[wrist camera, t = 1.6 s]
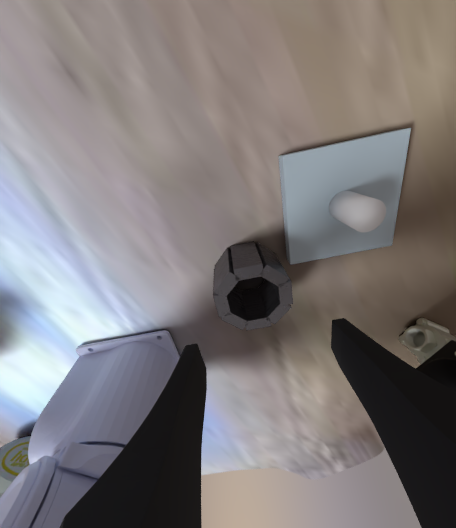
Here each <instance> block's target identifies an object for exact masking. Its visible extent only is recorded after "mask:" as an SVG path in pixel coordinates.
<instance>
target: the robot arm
mask: <svg viewBox="0 0 456 528" xmlns="http://www.w3.org/2000/svg"><path fill="white" fill-rule="evenodd" d="M159 336H161V337H159ZM331 348H332V351H333V353H334V355H335V357H336V360H337V362H338V364H339V366H340V368H341V370H342V371H343V373H344V375H345V376H346V378H347V380H348V381H349V383H350V385H351V386H352V388H353V390H354V391H355V393H356V395H357V396H358V398H359V400H360V401H361V403H362V405H363V406H364V408H365V410H366V411H367V413H368V415H369V417H370V418H371V420H372V422H373V424H374V426H375V428H376V430H377V432H378V434H379V436H380V438H381V440H382V442H383V444H384V446H385V448H386V450H387V452H388V454H389V456H390V458H391V461H392V463H393V465H394V467H395V469H396V471H397V473H398V475H399V478H400V480H401V482H402V484H403V486H404V489H405V491H406V493H407V495H408V497H409V500H410V502H411V504H412V506H413V509H414V511H415V513H416V516H417V518H418V520H419V522H420V525H421V527H422V528H456V391H454V390H452V389H450V388H448V387H446V386H444V385H443V384H441V383H439V382H437V381H436V380H434V379H432V378H430V377H429V376H427V375H425V374H423V373H422V372H420V371H418V370H417V369H415V368H414V367H412V366H410V365H409V364H407V363H406V362H404V361H403V360H401V359H400V358H398V357H397V356H395V355H394V354H392V353H391V352H389V351H388V350H386V349H385V348H384V347H382V346H381V345H379V344H378V343H377V342H375V341H374V340H372V339H371V338H370V337H368V336H367V335H366V334H364V333H363V332H362V331H360V330H359V329H358V328H356V327H355V326H354V325H353V324H351V323H350V322H349V321H347V320H346V319H344V318H342V319H336V320H332V339H331ZM76 352H77V354H78V355H79V356H80V357H79V358H78V359H77V361H76V362H75V364H74V365H73V367H72V368H71V370H70V371H69V373H68V374H67V376H66V377H65V379H64V380H63V382H62V383H61V385H60V386H59V388H58V389H57V390H56V392H55V393H54V395H53V396H52V398H51V399H50V401H49V402H48V404H47V405H46V407H45V408H44V410H43V411H42V413H41V414H40V416H39V418H38V419H37V422H36V424H35V426H34V429H33V431H32V434H31V438H30V442H29V447H28V459H29V464H30V465H29V466H27V467H26V468H24V469H23V470H22V471H21V472H20V473H19V475H18V476H17V477H16V478H15V479H14V480H13V482H12V483H11V484H10V485H9V487H8V488H7V489H6V491H5V492H4V493H3V495H2V496H1V497H0V528H201V445H202V431H203V421H204V411H205V400H206V367H205V364H204V361H203V358H202V356H201V353H200V350H199V348H198V345H197V344H192V345H186V346H185V348H184V350H183V352H182V354H181V356H179V353H178V351H177V349H176V346H175V344H174V342H173V340H172V337H171V335H170V333H169V332H168V331H166V330H163V331H157V332H152V333H146V334H141V335H135V336H129V337H124V338H118V339H113V340H107V341H102V342H96V343H91V344H85V345H80V346H78V347H77V349H76Z"/></svg>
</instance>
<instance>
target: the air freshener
mask: <svg viewBox="0 0 456 528" xmlns="http://www.w3.org/2000/svg"><path fill="white" fill-rule="evenodd" d="M30 438H31V436H28V437H24V438H20V439H17V440H14V441H12V442H10V443H8V444H6V445H4V446H2V447H1V448H0V497H1V496H2V495H3V493H4V492H5V491H6V489H7V488H8V487H9V485H10V484H11V483H12V482H13V480H14V479H15V478H16V477H17V476H18V475H19V473H20V472H21V471H22V470H23V469H24V468H26V467H27V466H29V465H30V464H29V459H28V447H29V442H30Z"/></svg>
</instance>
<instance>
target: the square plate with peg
mask: <svg viewBox="0 0 456 528" xmlns="http://www.w3.org/2000/svg"><path fill="white" fill-rule="evenodd" d="M410 132H411V128H406V129H398V130H394V131H389V132H385V133H380V134H375V135H371V136H366V137H362V138H357V139H353V140H348V141H343V142H339V143H334V144H330V145H325V146H321V147H316V148H311V149H307V150H302V151H298V152H293V153H289V154H284V155H279V166H280V179H281V191H282V204H283V216H284V229H285V241H286V253H287V260H288V262H289V263H290V265H292V264H297V263H302V262H307V261H313V260H318V259H323V258H328V257H334V256H339V255H344V254H349V253H355V252H360V251H365V250H370V249H376V248H381V247H386V246H391V245H392V242H393V236H394V230H395V224H396V217H397V211H398V205H399V199H400V193H401V187H402V181H403V175H404V168H405V162H406V156H407V150H408V144H409V138H410Z"/></svg>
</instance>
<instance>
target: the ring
mask: <svg viewBox="0 0 456 528" xmlns="http://www.w3.org/2000/svg"><path fill="white" fill-rule="evenodd" d="M230 247H231V250H230V249H228V248H227V249H226V250H225V252H224V253H223V255H222V256H221V257H220V259H219V260H218V262H217V263H216V264H215V269H214V287H213V297H214V301H215V305H216V308H217V312H218V315H219V317H221V320H223V321H225V322H227V323H229V324H231V325H233V326H235V327H237V328H239V329H241V330H243V329H244V328H245V327H246V331H247V330H252V329H258V328H264V327H269V326H271V323H273V324H276V323H277V322H278V321H279V320H280V319H281V317H282V316H283V315H284V314H285V313H286V312H287V311H288V310H289V309H290V308H291V305H290V304H293V298H292V284H291V280H290V278H289V277H288V275H287V273H286V271H285V270H284V268H283V266H282V264H281V262H280V261H279V259H278V257H277V256H276V254H275V253H274V252H272V251H270V250H269V249H267V248H266V247H264V246H263V245H261V244H260V243H258V242H257V243H256V244H254V241H253V242H248V243H243V244H238V245H233V246H230ZM255 277H263V278H265V280H264V282H263V283H262V284H261V285H260V286H259V287H258V288H254V289H248V290H243V291H242V290H240V289H238V288H236V287H234V286H235V285H236V284H237V282H238V281H240V280H245V279H250V278H255Z"/></svg>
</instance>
